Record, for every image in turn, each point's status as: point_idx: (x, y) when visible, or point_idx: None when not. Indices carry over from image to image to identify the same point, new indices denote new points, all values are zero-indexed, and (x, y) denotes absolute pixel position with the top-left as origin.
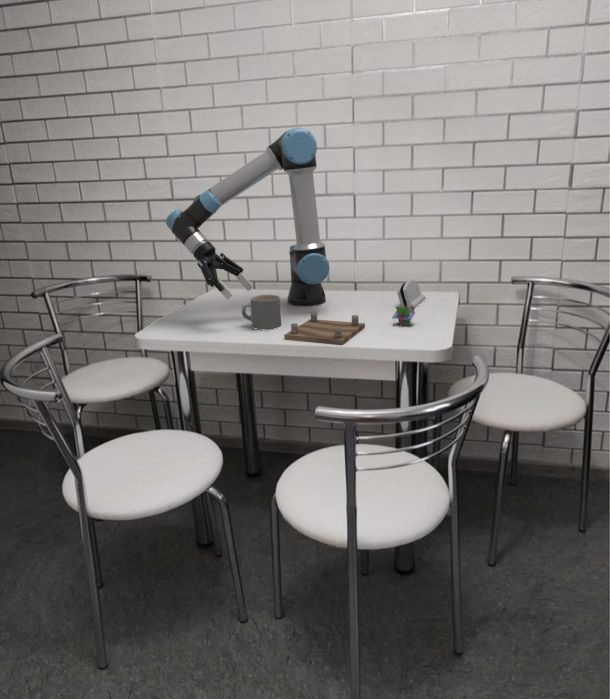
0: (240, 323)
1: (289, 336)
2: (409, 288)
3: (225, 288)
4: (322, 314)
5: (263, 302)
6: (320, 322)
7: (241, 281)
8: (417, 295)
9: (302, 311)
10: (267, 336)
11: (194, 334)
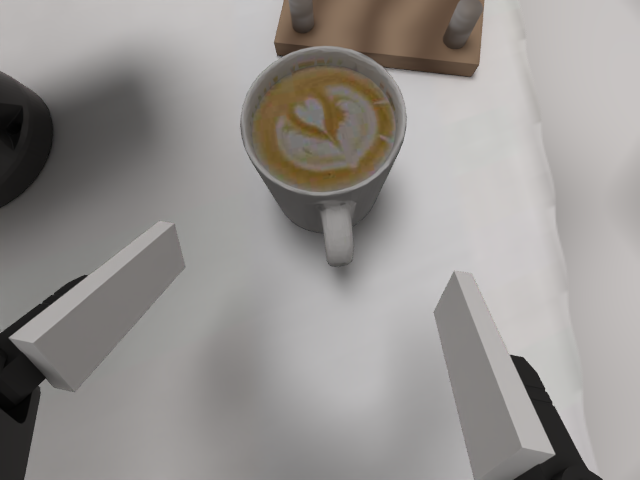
0: (302, 296)
1: (478, 51)
2: None
3: (494, 336)
4: (166, 49)
5: (402, 103)
6: (315, 2)
7: (121, 321)
8: None
9: (123, 122)
10: (451, 138)
11: None
